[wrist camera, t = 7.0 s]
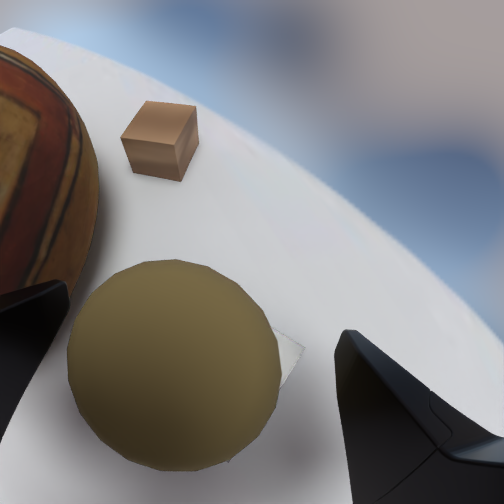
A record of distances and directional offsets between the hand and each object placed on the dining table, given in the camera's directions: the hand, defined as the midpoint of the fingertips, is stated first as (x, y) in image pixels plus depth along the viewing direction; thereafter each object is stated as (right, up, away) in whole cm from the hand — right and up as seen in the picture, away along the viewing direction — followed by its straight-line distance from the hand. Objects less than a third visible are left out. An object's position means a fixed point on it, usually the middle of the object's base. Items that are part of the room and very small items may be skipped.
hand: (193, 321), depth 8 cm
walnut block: (-5, +9, +13) cm, 17 cm away
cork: (-1, -4, +7) cm, 8 cm away
